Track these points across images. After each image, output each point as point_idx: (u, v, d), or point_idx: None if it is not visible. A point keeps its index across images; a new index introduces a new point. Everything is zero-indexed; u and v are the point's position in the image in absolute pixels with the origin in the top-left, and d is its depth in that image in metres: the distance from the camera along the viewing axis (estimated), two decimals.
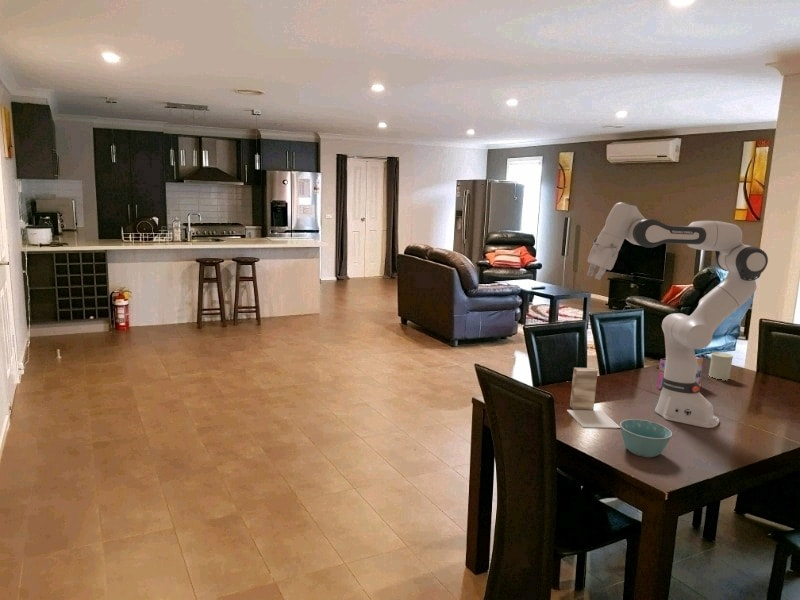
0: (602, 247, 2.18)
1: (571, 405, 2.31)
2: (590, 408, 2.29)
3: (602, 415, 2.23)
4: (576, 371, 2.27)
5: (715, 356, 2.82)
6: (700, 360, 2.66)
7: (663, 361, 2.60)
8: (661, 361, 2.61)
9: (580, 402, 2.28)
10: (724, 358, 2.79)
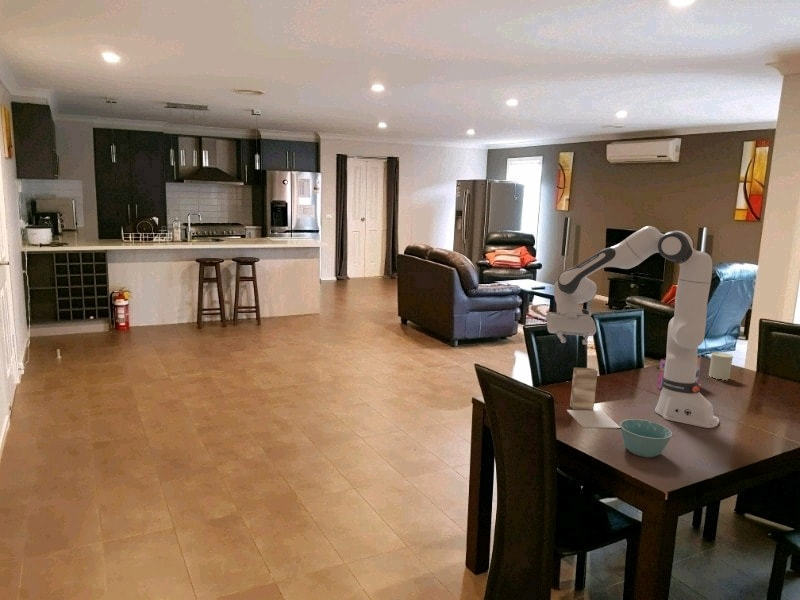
0: None
1: (571, 405, 2.31)
2: (590, 408, 2.29)
3: (602, 415, 2.23)
4: (576, 371, 2.27)
5: (715, 356, 2.82)
6: (699, 360, 2.67)
7: (664, 361, 2.59)
8: (662, 361, 2.60)
9: (580, 402, 2.28)
10: (724, 358, 2.79)
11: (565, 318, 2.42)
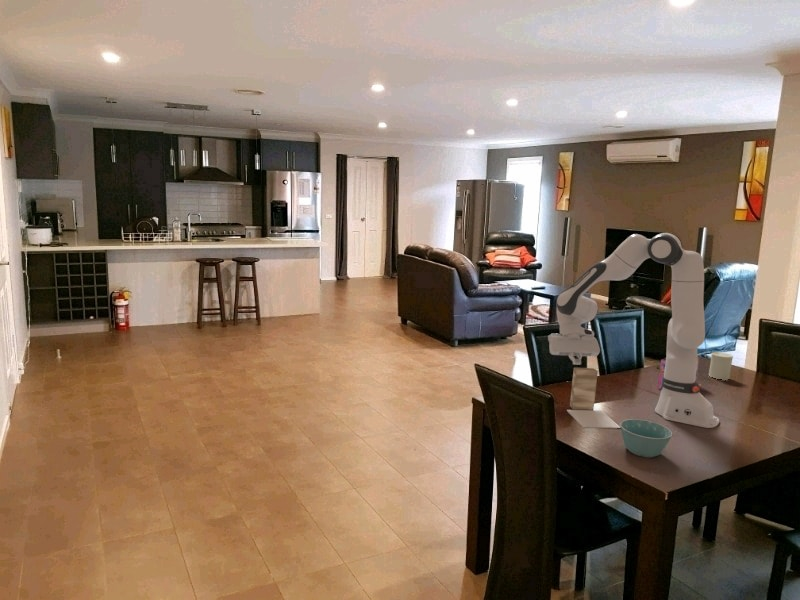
0: None
1: (571, 405, 2.31)
2: (590, 408, 2.29)
3: (602, 415, 2.23)
4: (576, 371, 2.27)
5: (715, 356, 2.82)
6: None
7: (664, 362, 2.59)
8: (662, 362, 2.60)
9: (580, 402, 2.28)
10: (724, 358, 2.79)
11: (567, 339, 2.41)
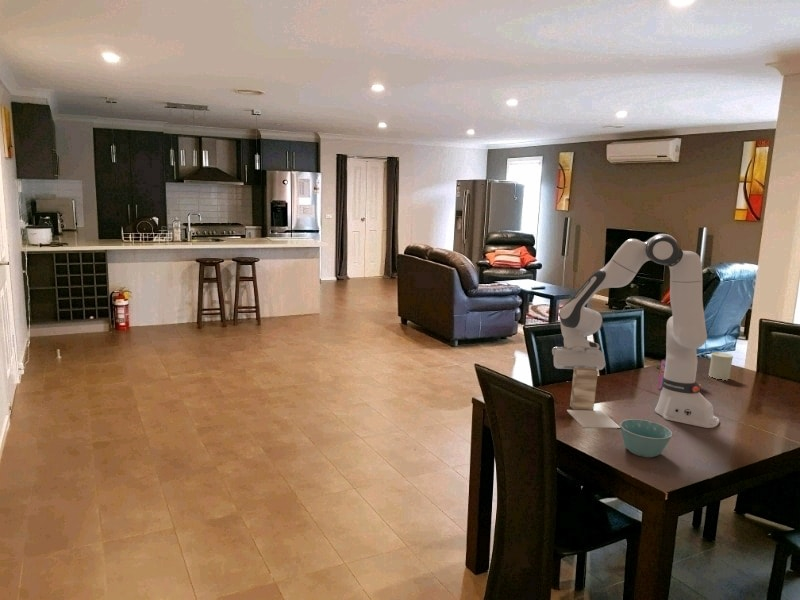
0: None
1: (571, 405, 2.31)
2: (590, 408, 2.29)
3: (602, 415, 2.23)
4: (576, 371, 2.27)
5: (715, 356, 2.82)
6: None
7: (665, 362, 2.59)
8: (663, 362, 2.59)
9: (580, 402, 2.28)
10: (724, 358, 2.79)
11: (572, 352, 2.36)
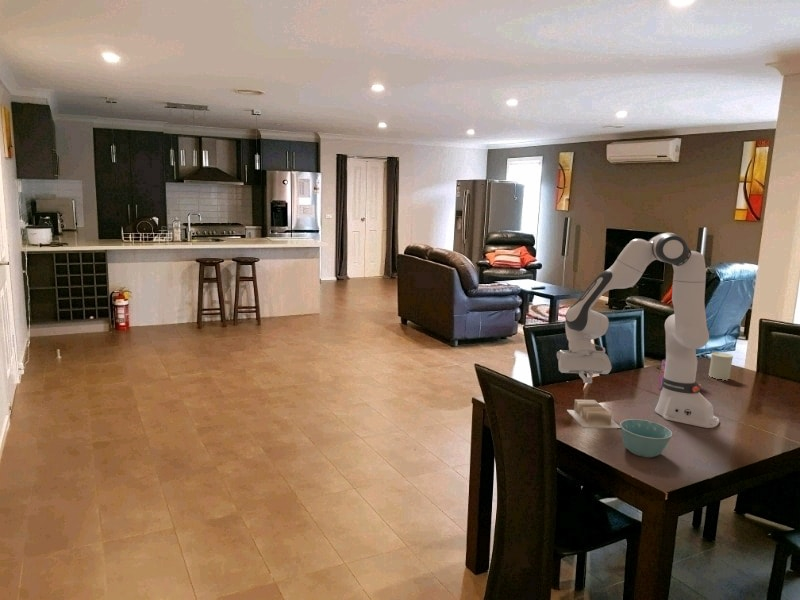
0: None
1: (575, 404, 2.27)
2: None
3: None
4: (588, 421, 2.13)
5: (715, 356, 2.82)
6: None
7: (665, 362, 2.58)
8: (663, 362, 2.59)
9: None
10: (724, 358, 2.79)
11: (577, 356, 2.30)
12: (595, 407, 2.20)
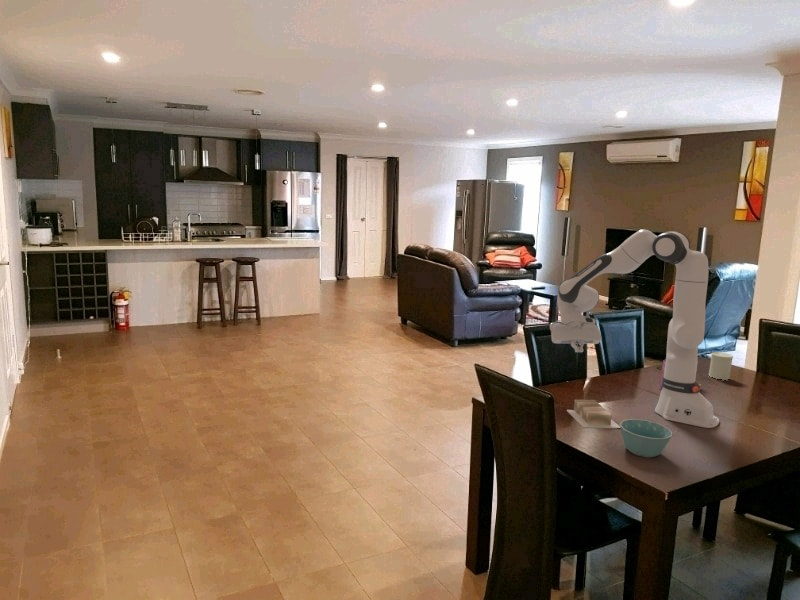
0: None
1: (575, 404, 2.27)
2: None
3: None
4: (588, 421, 2.13)
5: (715, 356, 2.82)
6: None
7: None
8: (664, 362, 2.58)
9: None
10: (724, 358, 2.79)
11: (568, 327, 2.44)
12: (595, 407, 2.20)
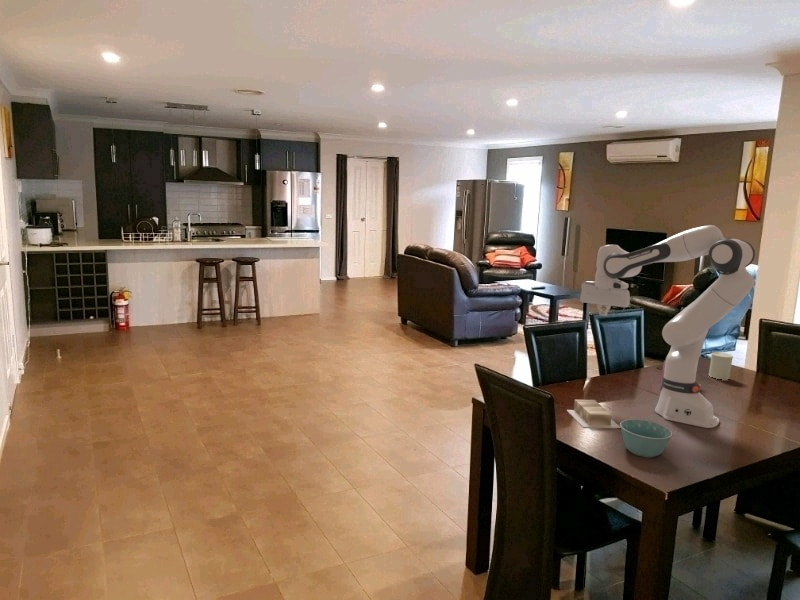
0: None
1: (575, 404, 2.27)
2: None
3: None
4: (588, 421, 2.13)
5: (715, 356, 2.82)
6: None
7: None
8: (665, 363, 2.58)
9: None
10: (724, 358, 2.79)
11: (596, 290, 2.49)
12: (595, 407, 2.20)
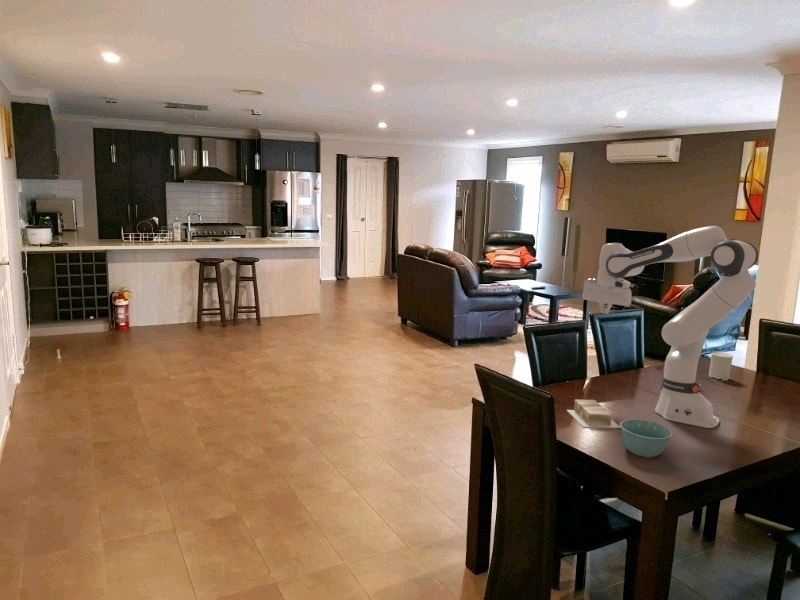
0: None
1: (575, 404, 2.27)
2: None
3: None
4: (588, 421, 2.13)
5: (715, 356, 2.82)
6: None
7: None
8: (665, 363, 2.58)
9: None
10: (724, 358, 2.79)
11: (599, 288, 2.49)
12: (595, 407, 2.20)
